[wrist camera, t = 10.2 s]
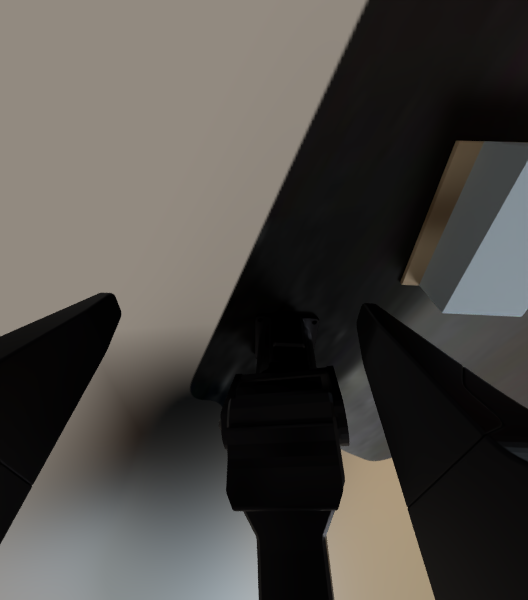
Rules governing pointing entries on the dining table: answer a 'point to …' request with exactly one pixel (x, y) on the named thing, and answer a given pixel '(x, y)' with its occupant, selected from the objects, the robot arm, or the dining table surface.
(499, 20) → the dining table surface
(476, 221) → the light blue block
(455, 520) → the robot arm
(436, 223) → the mat
